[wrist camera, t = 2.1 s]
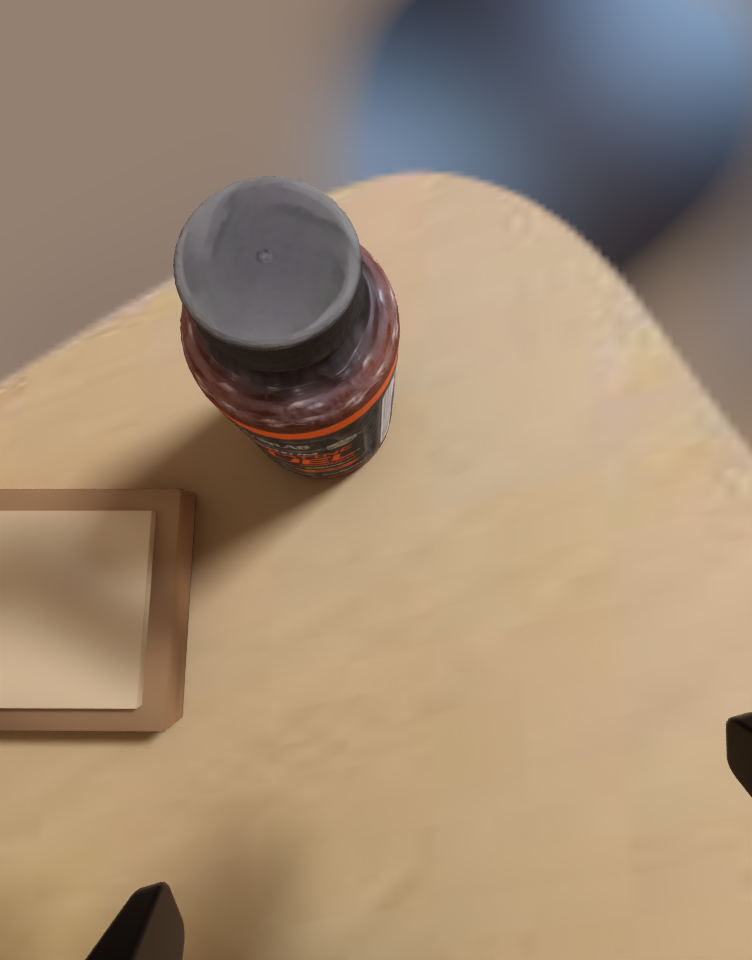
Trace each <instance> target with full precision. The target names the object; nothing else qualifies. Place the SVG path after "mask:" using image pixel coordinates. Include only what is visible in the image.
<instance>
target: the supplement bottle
mask: <svg viewBox="0 0 752 960" xmlns="http://www.w3.org/2000/svg"><path fill="white" fill-rule="evenodd" d="M173 266H174V278H175V285H176V288H177V291H178V294H179V297H180V299H181V301H182V314H181V319H180V322H181V326H180V330H181V341H182V345H183V351H184V355H185V358H186V361H187V364H188V367H189V369H190V371H191V373H192V375H193V377H194V378H195V380H196V382H197V384H198V385H199V387H200V388H201V390H202V391H203V393H204V394H205V395H206V397H207V398H208V399H209V400H210V401H211V402H212V403H213V404H214V405H215V406H216V407H217V408H218V409H219V410H220V411H221V412H222V413H223V414H224V415H225V416H226V417H228V418H229V419H230V420H231V421H232V422H233V423H234V424H235V425H236V426H237V427H239V428H240V430H242V431H243V432H244V433H245V434H246V435H247V436H248V437H250V438H251V439H252V440H253V441H254V442H255V443H256V444H257V445H258V446H259V447H260V448H261V449H262V450H263V451H264V452H265V453H266V454H267V455H268V456H269V457H270V458H272V459H273V460H274V461H276V462H277V463H278V464H279V465H281V466H282V467H284V468H286V469H288V470H290V471H292V472H294V473H296V474H299V475H302V476H306V477H311V478H321V479H323V478H332V477H337V476H341V475H344V474H347V473H350V472H352V471H354V470H356V469H358V468H359V467H361V466H362V465H364V464H365V463H366V462H368V461H369V460H370V459H371V458H372V457H373V456H374V454H375V453H376V452H377V451H378V449H379V448H380V446H381V444H382V443H383V441H384V439H385V437H386V434H387V431H388V428H389V424H390V420H391V415H392V403H393V395H394V386H395V377H396V367H397V359H398V346H399V337H400V326H399V314H398V306H397V302H396V299H395V294H394V292H393V290H392V287H391V284H390V282H389V280H388V278H387V276H386V275H385V273H384V271H383V269H382V268H381V266H380V265H379V263H378V262H377V260H376V259H375V258H374V257H373V256H372V255H371V254H370V253H369V252H368V251H367V250H366V249H365V248H364V247H363V246H361V245H360V244H359V240H358V237H357V234H356V231H355V229H354V227H353V225H352V224H351V222H350V220H349V218H348V217H347V215H346V213H345V212H344V211H343V210H342V209H341V208H340V207H339V206H338V205H337V203H336V202H335V201H334V200H333V199H332V198H330V197H329V196H327V195H326V194H324V193H323V192H321V191H319V190H318V189H317V188H315V187H312V186H310V185H308V184H306V183H303V182H301V181H298V180H293V179H290V178H283V177H275V176H265V177H261V178H253V179H246V180H243V181H240V182H236V183H233V184H231V185H228V186H227V187H226V188H224V189H221V190H219V191H218V192H216V193H215V194H214V195H213V196H210V197H208V198H207V199H206V200H205V201H204V202H203V203H202V204H201V205H200V206H199V207H198V208H197V209H196V210H195V211H194V212H193V214H192V215H191V216H190V218H189V219H188V220H187V222H186V224H185V225H184V227H183V229H182V231H181V233H180V236H179V239H178V242H177V244H176V249H175V255H174V264H173Z"/></svg>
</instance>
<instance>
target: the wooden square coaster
mask: <svg viewBox="0 0 752 960" xmlns="http://www.w3.org/2000/svg"><path fill="white" fill-rule="evenodd" d="M195 503H196V494H194V493H191V492H188V491H185V490H182V489H0V731H165V730H167V729H168V728H169V727H170V726H172V725H173V724H174V723H175V722H177V721H178V720H179V719H180V718H182V715H183V699H184V683H185V667H186V650H187V634H188V618H189V601H190V585H191V569H192V552H193V536H194V520H195Z"/></svg>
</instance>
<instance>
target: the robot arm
mask: <svg viewBox="0 0 752 960" xmlns="http://www.w3.org/2000/svg"><path fill="white" fill-rule="evenodd" d="M726 747H727V760H728V764H729V766H730V769H731V770H732V772H733V774H734V775H735V777H736V778H737V779H738V781H739V782H740V783H741V784H742V786H743V787H744V788H745V790H746V791H747V792H748V793H749V795H750V796H751V797H752V712H749V713H744V714H741V715H737V716H734V717H731V718H729V719H728V721H727V722H726ZM183 949H184V924H183V920H182V917H181V914H180V912H179V909H178V907H177V904H176V902H175V899H174V897H173V894H172V892H171V889H170V887H169V885H168V884H166V883H165V882H160V883H156V884H153V885H149V886H146V887H142V888H140V889H138V890H137V891H136V892H135V893H134V894H132V896H131V897H130V898H129V900H128V901H127V902H126V904H125V905H124V907H123V908H122V909H121V911H120V912H119V914H118V915H117V916H116V918H115V919H114V920H113V922H112V923H111V925H110V926H109V927H108V929H107V930H106V932H105V933H104V934H103V936H102V937H101V938H100V940H99V941H98V943H97V944H96V945H95V947H94V948H93V950H92V951H91V952H90V954H89V955H88V957H87V958H86V959H85V960H182V958H183Z"/></svg>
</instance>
